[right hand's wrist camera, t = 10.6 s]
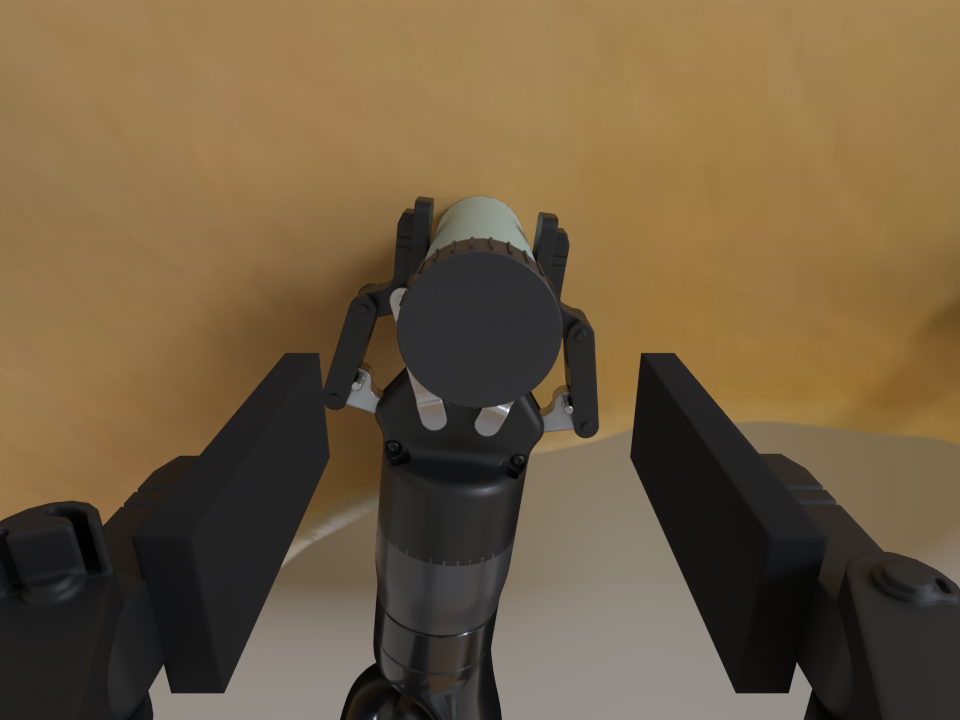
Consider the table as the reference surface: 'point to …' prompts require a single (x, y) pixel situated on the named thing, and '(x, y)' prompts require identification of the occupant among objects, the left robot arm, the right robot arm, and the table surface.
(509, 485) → the left robot arm
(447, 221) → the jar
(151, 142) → the table surface
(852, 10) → the table surface
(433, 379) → the lid
